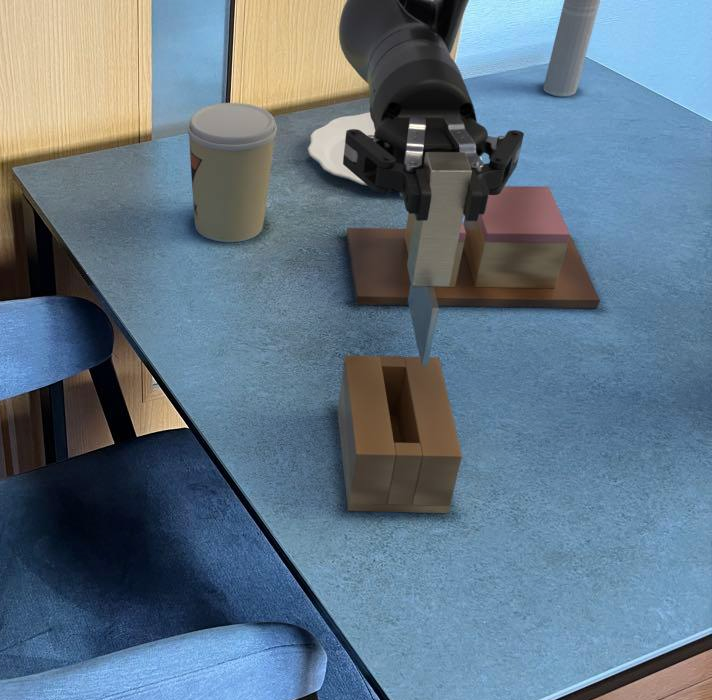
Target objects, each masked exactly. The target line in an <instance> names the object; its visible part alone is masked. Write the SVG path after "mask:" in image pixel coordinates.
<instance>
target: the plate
mask: <svg viewBox="0 0 712 700" xmlns="http://www.w3.org/2000/svg"><path fill="white" fill-rule="evenodd" d="M350 129H357V130H360V131H362V132H363V133H364V134H366V135H367V136H368V135H374V133H375V128H374V123H373V121H372V119H371V116H370V111H369V112H365V113H361V114H355V115H347V116H340V117H337V118H334V119H332V120H330V121H329V122H328V123H326V124H325V125H323V126H322V127H319V128H317V129H315V130H313V132H312V133H311V134H310V135H309V136H310V137H309V138H310V144H309V145H308V146H307V153H308V155H309V157H310V158H312V159H313V160H315V161H316V162H317V163H319V165H320V167H321V168H322V169H323V171H325V172H327V173H329V174H331V175H332V176H335V177H339V178H343V179H347V180H351V181H352V182H354V183H357V184H359V185H362V186H367V187H369V186H368V185H367V184H365V183H364V182H363V181H362V180H361V179H360V178H358V177H357V176H356V175H355V174H354V173H353V172H351V171H350V170H349V169H348V168H347V167H346V166H344V165H343V157H344V148H345V138H346V131H347V130H350ZM480 159H481V160H482V161H483V158H482V156H480Z"/></svg>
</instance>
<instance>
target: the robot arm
mask: <svg viewBox="0 0 712 700" xmlns="http://www.w3.org/2000/svg"><path fill="white" fill-rule="evenodd" d="M469 1H470V0H346V1H345V4H344V6H343V8H342V11H341V14H340V19H339V25H338V40H339V45H340V49H341V51H342V53H343V56H344V57H345V59H346V61H347V62H348V64H349V65H350V66H351V67H352V68H353V69H354V70H355V72H356V73H357V74H358V76H359V77H360V78H361V79H362V80H363V81H364V82H365V83H366V84H367V85H368V89H369V112H370V116H371V119H372V121H373V123H374V128H375V133H374V135H368V136H367V135H366V134H364V133H363V132H362V131H360V130H357V129H350V130H347V131H346V138H345V148H344V157H343V165H344V166H346V167H347V168H348V169H349V170H350V171H351V172H353V173H354V174H355V175H356V176H357V177H358V178H360V179H361V180H362V181H363V182H364V183H365V184H367V185H368V186H367V185H366V186H367V187H369V188H370V189H371V190H372V191H373V192H375V193H376V194H379V195H388V194H390V193H391V192H392V190H394V191H398V192H399V196H400V197H401V198H402V199H403V204H404V207H405V208H404V209H405V211H406V212H407V213H408V212H409V213H410V214H415V217H416V220H417V221H427V219H428V215H429V209H430V203H431V196H432V192H431V187H430V184H429V182H428V178H427V175H426V171H425V169H423V165H424V159H425V153H426V152H465V153H466V156H467V159H468V161H469V164H470V167H471V170H472V175H471V180H470V184H469V189H468V194H467V199H466V204H465V209H464V214H463V217H464V219H465V220H466V221H477V220H478V216H479V214H484V213H485V211H486V206H487V201H488V197H489V195H498V194H500V193H501V191H502V189H503V188H504V186H506V185H507V183H508V181H509V180H510V178H511V176H512V174H513V173H514V171H515V169H517V166H518V162H519V158H520V155H521V154H520V153H521V150H522V145H523V141H524V136H525V133H524V132H522V131H521V130H516V129H512V130H507V133H506V134H505V135H498V136H497V137H496V136H490V135H489V134H488V130H487V128H485V126H484V125H481V124H480V123H478V120H477V115H476V110H475V107H474V104H473V101H472V99H471V96H470V93H469V91H468V88H467V85H466V83H465V80H464V78H463V75H462V73H461V70H460V68H459V67H458V65H457V63H456V62H455V61H454V59H453V58H452V57H451V53H452V50H453V49H454V45H455V42H456V39H457V35H458V32H459V29H460V26H461V22H462V21H463V18H464V14H465V11H466V8H467V6H468V4H469ZM484 154H486V155H488V160H489V162H488V163H484V162H483V159H482V160H481V159H480V156H481V157H482V156H483V155H484Z"/></svg>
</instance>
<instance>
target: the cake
mask: <svg viewBox="0 0 712 700" xmlns="http://www.w3.org/2000/svg"><path fill="white" fill-rule="evenodd" d="M463 225H464V228H465V232H466V235H465V240H464V245H463V250H462V255H461V260H460V265H459V270H458V275H457V279H456V284H455V287H433V288H434V292H435V296H436V300H437V304H438V307H477V308H478V307H480V308H481V307H483V308H484V307H485V308H486V307H487V308H490V307H491V308H545V309H547V308H548V309H549V308H550V309H554V308H555V309H598V307H599V304H600V300H601V299H600V297H599V295H598V292H597V290H596V288H595V286H594V284H593V282H592V279H591V277H590V275H589V273H588V271H587V268H586V266H585V264H584V262H583V260H582V257H581V255H580V253H579V250H578V248H577V246H576V244H575V242H574V239H573V237H572V235H571V233H570V231H569V228H568V226H567V224H566V222H565V220H564V217H563V215H562V213H561V211H560V209H559V206H558V204H557V202H556V200H555V197H554V195H553V193H552V191H551V188H550V187H549V186H534V185H533V186H529V185H528V186H527V185H526V186H523V185H517V186H516V185H505V186H504V188H503V189H502V191H501V193H500V194H498V195H489V197H488V201H487V206H486V211H485V213H484V214H479V216H478V220H477V221H466V220H465V218H463ZM405 231H406V228H389V227H388V228H384V227H383V228H382V227H379V228H378V227H377V228H376V227H347V229H346V241H347V248H348V255H349V263H350V270H351V277H352V283H353V291H354V298H355V305H360V306H363V305H364V306H409V304H408V297H409V291H410V285H411V281H410V277H409V272H408V268H407V262H408V256H409V255H408V251H407V246H406V242H405Z"/></svg>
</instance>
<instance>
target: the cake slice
mask: <svg viewBox="0 0 712 700" xmlns="http://www.w3.org/2000/svg"><path fill="white" fill-rule="evenodd" d="M414 220H415V214H410V213H409V212H407V218H406V224H405V225H406V226H405V229H406V231H405V242H406V246H407V251H408V255H409V250H410V244H411V238H412V232H413V226H414ZM463 224H464V221H462V224H461V229H460V234H459V239H458V244H457V249H456V254H455V259H454V264H453V269H452V274H451V279H450V284H449V287H455V284H456V279H457V275H458V270H459V265H460V260H461V255H462V250H463V245H464V240H465V235H466V232H465V228H464V225H463ZM433 287H437V286H433Z"/></svg>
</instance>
